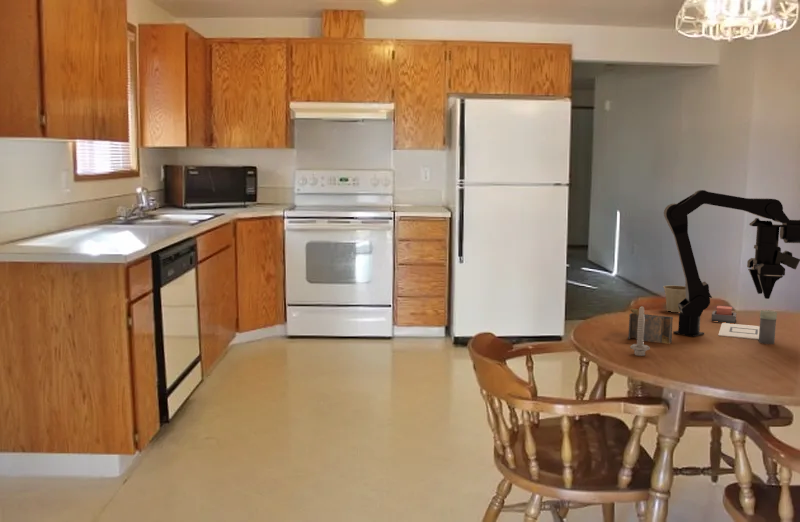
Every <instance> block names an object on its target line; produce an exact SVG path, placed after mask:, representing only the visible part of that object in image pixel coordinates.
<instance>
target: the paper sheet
mask: <svg viewBox="0 0 800 522" xmlns="http://www.w3.org/2000/svg"><path fill="white" fill-rule="evenodd" d="M759 328H760V325H751V324H750V325H749V324H738V323H735V324H730V323H721V325H720V328H719V332H718V335H717V336H720V337H728V338H736V339H737V338H738V339H747V340H750V339H751V340H757V341H759Z"/></svg>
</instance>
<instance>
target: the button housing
mask: <svg viewBox="0 0 800 522" xmlns="http://www.w3.org/2000/svg"><path fill="white" fill-rule="evenodd" d="M716 312H717V310H712V313H711V321H718V322H717V323H719V322H726V323H735V324H736V321H737V312H733V311H732V315H720V314H716Z"/></svg>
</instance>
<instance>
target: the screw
mask: <svg viewBox="0 0 800 522" xmlns="http://www.w3.org/2000/svg"><path fill="white" fill-rule="evenodd" d="M638 309H639V317H638V327H637V328H638V329H637V330H638V331H637V332H638V335H637V338H636V339H637V340H636V343H633V344H631V345H630V349H632V350H633V351H634V355H635V356H638V357H643V356H644V357H645V356H646V352H647V351H649V350H650V346H649V345H647V344H644V343H645V341H644V339H643V338H644V327H645V326H644V325H645V324H644V323H645V322H644V321H645V319H644V318H645V317H644V316H645V315H644V314H645V307H644V306H640V307H639V308H638Z"/></svg>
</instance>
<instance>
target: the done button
mask: <svg viewBox="0 0 800 522" xmlns="http://www.w3.org/2000/svg"><path fill="white" fill-rule="evenodd" d="M716 311H717V312H716V314H720V315H732V312H733V307H732V306H727V305H726V306H724V305H723V306H722V305H717V306H716Z"/></svg>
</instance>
